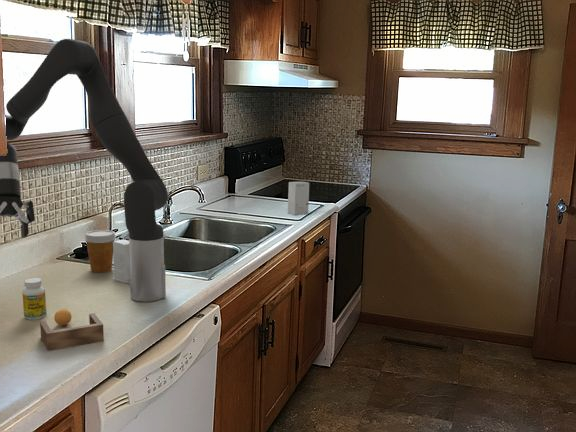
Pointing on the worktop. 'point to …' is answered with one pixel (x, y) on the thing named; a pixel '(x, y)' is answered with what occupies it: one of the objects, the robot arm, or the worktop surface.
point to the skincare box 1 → (121, 261)
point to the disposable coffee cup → (100, 249)
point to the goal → (72, 334)
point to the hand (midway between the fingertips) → (8, 237)
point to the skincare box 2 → (298, 198)
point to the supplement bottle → (34, 299)
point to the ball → (62, 317)
